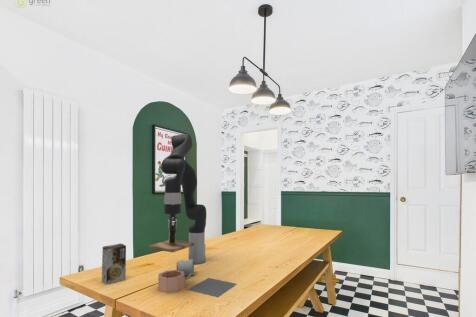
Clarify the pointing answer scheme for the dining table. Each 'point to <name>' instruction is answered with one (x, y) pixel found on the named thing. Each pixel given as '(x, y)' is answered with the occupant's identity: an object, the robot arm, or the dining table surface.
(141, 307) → the dining table surface
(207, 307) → the dining table surface
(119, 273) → the coffee box
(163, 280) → the bowl
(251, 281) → the dining table surface
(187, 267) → the ceramic mug
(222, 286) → the mat
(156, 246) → the lid
